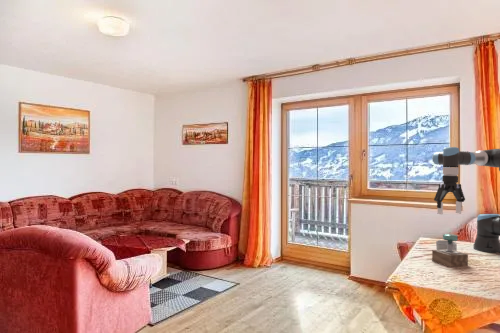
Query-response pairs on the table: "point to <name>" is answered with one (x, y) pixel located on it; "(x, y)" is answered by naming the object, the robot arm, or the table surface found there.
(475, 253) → the table surface
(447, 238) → the teal rounded knob
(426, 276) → the table surface
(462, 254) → the block
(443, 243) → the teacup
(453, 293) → the table surface
